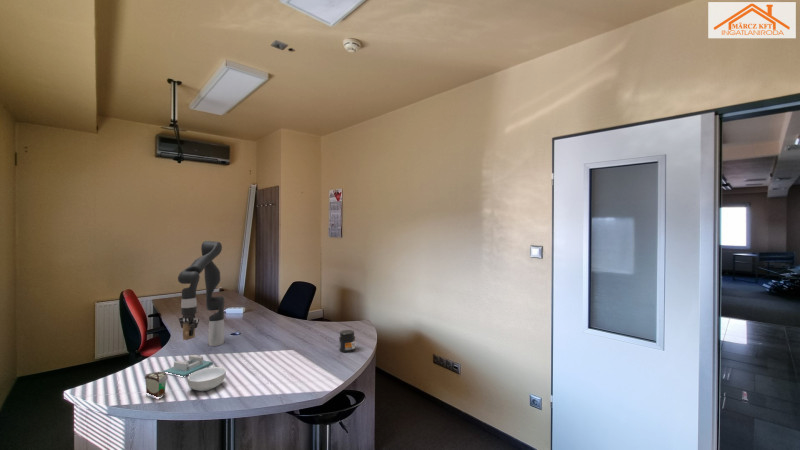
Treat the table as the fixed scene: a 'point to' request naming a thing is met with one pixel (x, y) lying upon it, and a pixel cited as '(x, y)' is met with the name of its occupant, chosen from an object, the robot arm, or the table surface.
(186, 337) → the brown upright block
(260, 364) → the table surface
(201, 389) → the cereal bowl
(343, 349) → the supplement container
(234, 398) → the table surface
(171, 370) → the dish
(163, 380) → the food container
